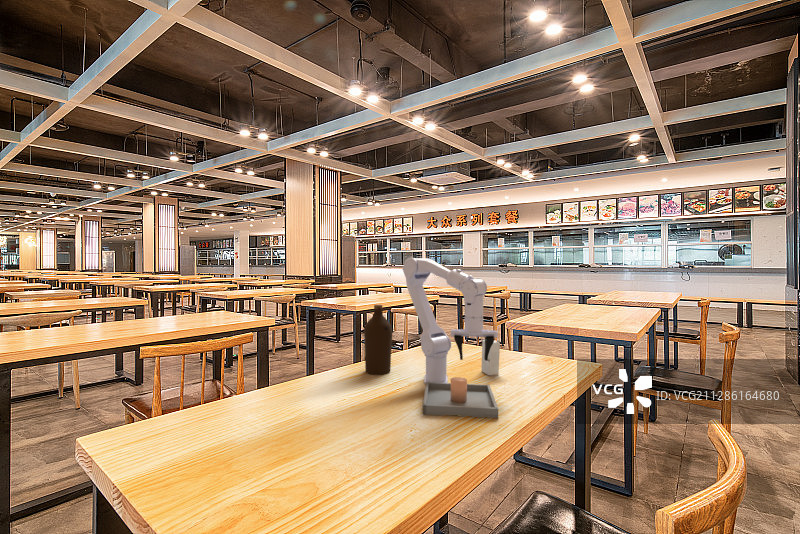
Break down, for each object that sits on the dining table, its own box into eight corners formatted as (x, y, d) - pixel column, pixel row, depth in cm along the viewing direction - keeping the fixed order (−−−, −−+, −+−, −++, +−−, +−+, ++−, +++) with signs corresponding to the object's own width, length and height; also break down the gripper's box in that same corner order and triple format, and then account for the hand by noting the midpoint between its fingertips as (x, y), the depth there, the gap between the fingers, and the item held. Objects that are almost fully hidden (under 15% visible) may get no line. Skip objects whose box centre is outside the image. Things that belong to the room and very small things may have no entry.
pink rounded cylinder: (450, 396, 116) (450, 377, 116) (466, 397, 116) (466, 377, 116) (450, 402, 111) (450, 381, 111) (467, 403, 111) (467, 382, 111)
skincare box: (480, 371, 146) (481, 339, 146) (491, 370, 148) (491, 338, 147) (489, 375, 140) (489, 342, 140) (500, 374, 142) (500, 341, 141)
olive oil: (396, 369, 149) (396, 304, 148) (385, 376, 139) (386, 307, 138) (370, 366, 152) (371, 303, 152) (359, 373, 142) (359, 306, 142)
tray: (426, 390, 125) (426, 382, 125) (489, 392, 122) (489, 384, 122) (423, 414, 105) (423, 405, 105) (498, 418, 103) (498, 408, 102)
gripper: (451, 318, 119) (450, 361, 120) (499, 319, 118) (498, 363, 118) (450, 315, 126) (450, 356, 127) (495, 315, 125) (495, 357, 125)
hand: (473, 359), depth 123 cm, fingers open, 7 cm apart
